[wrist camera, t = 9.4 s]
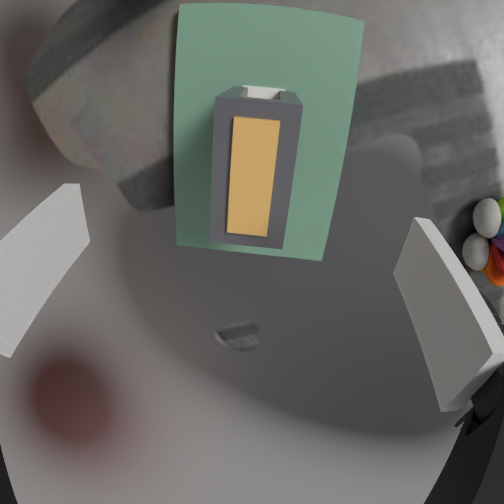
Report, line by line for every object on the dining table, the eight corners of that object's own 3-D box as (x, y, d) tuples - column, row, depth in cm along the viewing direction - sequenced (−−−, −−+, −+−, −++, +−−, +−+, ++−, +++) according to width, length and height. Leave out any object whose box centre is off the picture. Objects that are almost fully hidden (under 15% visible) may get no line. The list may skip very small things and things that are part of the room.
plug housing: (233, 86, 22) (213, 97, 15) (294, 92, 22) (303, 106, 15) (226, 192, 27) (209, 244, 20) (281, 197, 27) (282, 252, 20)
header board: (183, 6, 19) (160, -6, 15) (360, 22, 19) (382, 13, 15) (179, 239, 32) (163, 273, 27) (320, 253, 32) (327, 291, 27)
